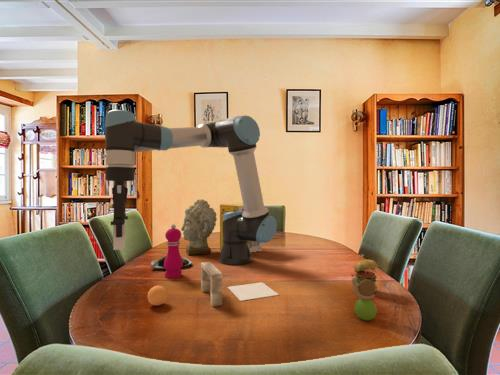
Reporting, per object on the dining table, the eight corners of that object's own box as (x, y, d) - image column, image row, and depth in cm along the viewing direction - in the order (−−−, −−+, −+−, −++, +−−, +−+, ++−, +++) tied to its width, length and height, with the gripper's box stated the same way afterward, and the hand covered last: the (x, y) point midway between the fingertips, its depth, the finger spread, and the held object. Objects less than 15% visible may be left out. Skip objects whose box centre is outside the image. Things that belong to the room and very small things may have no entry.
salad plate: (145, 262, 136) (145, 252, 136) (184, 258, 143) (184, 249, 143) (151, 273, 118) (151, 262, 118) (195, 268, 126) (195, 257, 126)
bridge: (209, 289, 99) (209, 261, 99) (222, 305, 86) (222, 273, 86) (201, 290, 98) (201, 262, 98) (212, 306, 85) (212, 274, 85)
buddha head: (179, 250, 160) (179, 199, 160) (213, 248, 166) (213, 198, 166) (182, 257, 144) (182, 200, 144) (219, 254, 150) (219, 199, 150)
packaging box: (238, 255, 148) (238, 205, 148) (219, 250, 160) (219, 204, 160) (261, 250, 159) (261, 204, 159) (242, 246, 171) (242, 203, 171)
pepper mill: (177, 279, 110) (177, 225, 110) (160, 278, 111) (160, 225, 111) (185, 273, 117) (185, 223, 117) (169, 272, 118) (169, 223, 118)
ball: (166, 300, 89) (166, 282, 89) (168, 306, 84) (168, 287, 84) (147, 302, 87) (147, 284, 87) (148, 309, 82) (148, 290, 82)
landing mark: (262, 282, 106) (262, 282, 106) (278, 295, 93) (278, 294, 93) (227, 287, 101) (227, 286, 101) (240, 301, 89) (240, 300, 89)
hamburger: (366, 296, 92) (366, 258, 92) (349, 289, 99) (349, 253, 99) (383, 292, 96) (383, 255, 96) (365, 286, 102) (365, 251, 102)
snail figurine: (347, 315, 79) (347, 270, 79) (370, 314, 79) (370, 270, 79) (356, 324, 73) (356, 276, 73) (380, 323, 74) (380, 276, 74)
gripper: (108, 168, 92) (108, 239, 92) (101, 163, 70) (100, 255, 70) (134, 169, 94) (134, 237, 94) (134, 164, 73) (134, 252, 73)
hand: (120, 245), depth 82 cm, fingers open, 11 cm apart
